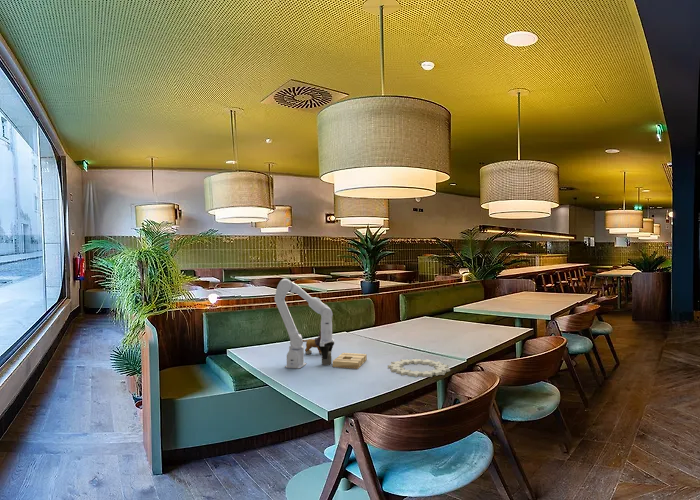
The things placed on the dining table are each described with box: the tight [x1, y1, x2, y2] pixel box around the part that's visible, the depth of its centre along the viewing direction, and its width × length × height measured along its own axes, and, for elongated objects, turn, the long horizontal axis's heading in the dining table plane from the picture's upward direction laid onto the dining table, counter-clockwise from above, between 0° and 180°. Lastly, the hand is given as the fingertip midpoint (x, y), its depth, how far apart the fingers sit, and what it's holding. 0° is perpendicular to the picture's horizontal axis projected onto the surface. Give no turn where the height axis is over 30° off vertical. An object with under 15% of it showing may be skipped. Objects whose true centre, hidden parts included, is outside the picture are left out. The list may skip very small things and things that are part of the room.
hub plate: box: [332, 352, 368, 370], centre depth 228 cm, size 18×13×3 cm
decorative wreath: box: [387, 358, 451, 378], centre depth 217 cm, size 30×2×30 cm
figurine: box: [302, 329, 334, 356], centre depth 249 cm, size 7×22×15 cm, turn 78°
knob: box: [321, 351, 333, 366], centre depth 226 cm, size 5×5×7 cm
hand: (326, 357), depth 226 cm, fingers open, 5 cm apart
